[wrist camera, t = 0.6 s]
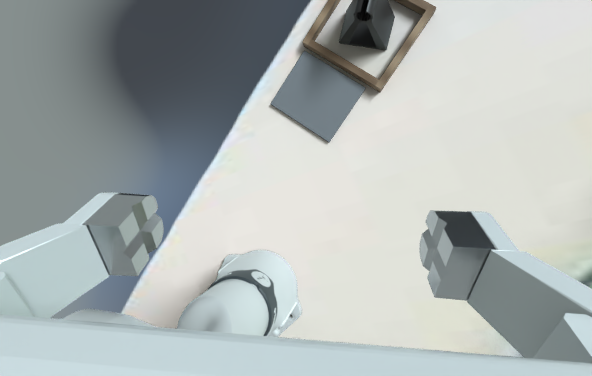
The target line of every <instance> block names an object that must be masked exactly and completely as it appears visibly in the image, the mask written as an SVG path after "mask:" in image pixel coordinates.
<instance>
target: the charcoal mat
mask: <svg viewBox="0 0 592 376" xmlns="http://www.w3.org/2000/svg"><path fill="white" fill-rule="evenodd" d="M364 90H365V87H364V86H362V85H360V84H359V83H357V82H355V81H354V80H352V79H350V78H349V77H347V76H346V75H344V74H342V73H341V72H339V71H337V70H336V69H334V68H332V67H331V66H329V65H327V64H326V63H324V62H322V61H321V60H319V59H317V58H316V57H314V56H313V55H311V54H309V53H308V52H306V51H304V52H303V53H302V55H301V57H300V58H299V60H298V61H297V63H296V64H295V66H294V68H293V69H292V71H291V72H290V74H289V76H288V77H287V79H286V80H285V82H284V83H283V85H282V87H281V88H280V90H279V91H278V93H277V94H276V96H275V98H274V99H273V101H272V102H271V105H273V106H274V107H276V108H277V109H279V110H281V111H282V112H284V113H285V114H287V115H288V116H290V117H291V118H293V119H294V120H296V121H297V122H299V123H300V124H302V125H303V126H305V127H306V128H308V129H310V130H311V131H313V132H314V133H316V134H317V135H319V136H320V137H322V138H323V139H325V140H326V141H328V142H330V141H331V139H332V138H333V136H334V135H335V133H336V132H337V130H338V129H339V127H340V126H341V124H342V123H343V121H344V120H345V118H346V117H347V115H348V114H349V112H350V111H351V109H352V108H353V106H354V105H355V103H356V102H357V101H358V99H359V98H360V96H361V95H362V93H363V92H364Z"/></svg>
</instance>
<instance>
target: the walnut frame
mask: <svg viewBox="0 0 592 376" xmlns="http://www.w3.org/2000/svg"><path fill="white" fill-rule="evenodd" d="M394 1H396V2H398V3H400V4H402V5H404V6H406V7H407V8H409V9H411V10H413V11H415V12H417V13H418V14H420V15H422V17H421V19H420V20H419V22H418V23H417V25H416V26H415V28H414V29H413V31H412V32H411V34H410V35H409V37H408V38H407V39H406V41H405V42H404V44H403V45H402V47H401V48H400V50H399V51H398V53H397V54H396V56H395V57H394V59H393V60H392V62H391V63H390V65H389V66H388V68H387V69H386V71H385V72H384V74H383V75H382V76H381V78H380V79H377V78H375V77H374V76H372V75H370V74H369V73H367V72H365V71H364V70H362V69H360V68H358V67H357V66H355V65H353V64H352V63H350V62H348V61H347V60H345V59H343V58H342V57H340V56H338V55H337V54H335V53H333V52H332V51H330V50H328V49H327V48H325V47H323V46H322V45H320V44H318V43H317V42H315V40H316V38H317V36H318V35H319V33H320V32H321V30H322V29H323V27H324V25H325V24H326V22H327V21H328V19H329V18H330V16H331V14H332V13H333V11H334V10H335V8H336V7H337V5H338V3H339V2H340V0H328V2H327V3H326V5H325V7H324V8H323V10H322V11H321V13H320V15H319V16H318V18H317V19H316V21H315V22H314V24H313V26H312V27H311V29H310V30H309V32H308V34H307V35H306V37H305V38H304V40H303V45H304V47H306V48H308V49H309V50H311V51H313V52H314V53H316V54H317V55H319V56H321V57H322V58H324V59H326V60H327V61H329V62H331V63H332V64H334V65H336V66H337V67H339V68H341V69H342V70H344V71H346V72H347V73H349V74H351V75H352V76H354V77H356V78H357V79H359V80H361V81H362V82H364V83H366V84H367V85H369V86H370V87H372V88H374V89H375V90H377V91H379V92H381V91H382V89H383V88H384V86H385V85H386V83H387V82H388V80H389V79H390V77H391V76H392V74H393V73H394V71H395V70H396V68H397V67H398V66H399V64H400V63H401V61H402V60H403V58H404V57H405V55H406V54H407V52H408V51H409V49H410V48H411V46H412V45H413V43H414V42H415V40H416V39H417V38H418V36H419V35H420V33H421V32H422V30H423V29H424V27H425V26H426V24H427V23H428V21H429V20H430V18H431V17H432V15H433V14H434V12H435V10H436V7H435V6H433V5H431V4H429V3H428V2H426V1H424V0H394Z"/></svg>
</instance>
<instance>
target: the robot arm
mask: <svg viewBox="0 0 592 376" xmlns="http://www.w3.org/2000/svg"><path fill="white" fill-rule="evenodd" d="M157 208H158V206H157V202H156V200H155V198H154V197H153V196H151V195H140V194H127V193H111V192H103V193H99V194H98V195H96V196H95V197H94V198H93V199H92V200H90V201H89V202H88V203H87V204H86V205H84V206H83V207H82V208H81V209H80V210H79V211H77V212H76V213H75V214H74V215H73V216H71V217H70V218H69V219H68V220H67V221H66V222H64V223H63V224H56V225H53V226H50V227H48V228H46V229H43V230H40V231H37V232H35V233H32V234H30V235H27V236H25V237H22V238H20V239H17V240H15V241H12V242H10V243H7V244H5V245H2V246H0V376H592V289H591V288H589V287H587V286H586V285H584V284H582V283H580V282H579V281H577V280H575V279H573V278H571V277H570V276H568V275H566V274H564V273H563V272H561V271H559V270H557V269H556V268H554V267H552V266H550V265H548V264H547V263H545V262H543V261H541V260H540V259H538V258H536V257H534V256H533V255H531V254H529V253H527V252H522V251H519V250H518V249H517V247H516V246H515V245H514V243H513V242H512V241H511V240H510V238H509V237H508V236H507V234H506V233H505V232H504V231H503V229H502V228H501V227H500V225H499V224H498V223H497V221H496V220H495V219H494V218H493V216H492V215H491V214H490V213H488V212H472V211H467V212H460V211H434V210H430V212H429V214H428V215H427V219H426V224H427V226H428V230H426V231H425V232H424V233H423V234H422V236H421V240H420V258H421V261H422V264H423V266H424V267H425V268H426V269H427V270H429V275H428V281H429V284H430V286H431V289H432V292H433V294H434V297H436V298H446V299H456V300H467V302H468V303H469V304H470V305H471V306H472V307H473V308H474V309H475V310H476V311H477V312H478V313H479V314H480V315H481V316H482V317H483V318H484V319H485V320H486V321H487V322H488V323H489V324H490V325H491V326H492V327H493V328H494V329H495V330H496V331H497V332H498V333H500V334H501V335H502V336H503V337H504V338H505V339H506V340H507V341H508V342H509V343H510V344H511V345H512V346H513V347H514V348H515V349H516V350H517V351H518V352H519V353H520V354H521V355H522V356H523V357H524V358H523V357H511V356H499V355H487V354H475V353H463V352H451V351H439V350H427V349H415V348H403V347H391V346H379V345H367V344H354V343H342V342H330V341H318V340H306V339H294V338H282V337H278V336H279V335H280V334H281V333H282V332H283V331H285V330H286V329H287V328H288V327H289V326H290V325H291V324H292V323H293V322H294V321H296V320H297V319H298V318H299V317H300V315H301V314H302V309H301V305H300V303H299V300H298V295H297V291H298V287H297V280H296V276H295V273H294V271H293V269H292V268H291V266H290V265H289V263H288V262H287V261H286V260H285V259H284V258H282V257H281V256H279V255H278V254H276V253H274V252H271V251H267V250H255V251H251V252H248V253H246V254H242V255H238V254H231V255H228V256H227V257H226V258H225V259H224V262H223V264H222V267H221V269H220V270H219V271H218V276H217V279H216V281H215V282H214V283H213V284H212V285H211V286H210V287H209V288H208V290H207V291H206V292H204V293H203V294H201V295H200V296H198V297H197V298H196V299H194V300H193V301H191V302H190V303H189V304H188V306H187V307H186V308H185V310H184V311H183V313H182V315H181V317H180V319H179V322H178V326H177V329H173V328H161V327H156V326H154V325H151V324H149V323H147V322H145V321H142V320H140V319H138V318H135V317H133V316H130V315H125V314H120V313H115V312H109V311H102V310H95V309H83V310H80V311H77V312H74V313H72V314H70V315H68V316H66V317H64V318H62V319H52V318H50V317H51V316H53V315H54V314H56V313H57V312H59V311H60V310H62V309H63V308H64V307H66V306H67V305H69V304H70V303H72V302H73V301H75V300H76V299H77V298H79V297H80V296H82V295H83V294H84V293H86V292H87V291H89V290H90V289H92V288H93V287H95V286H96V285H98V284H99V283H100V282H102V281H103V280H105V279H106V278H108V277H109V275H122V276H138V275H139V274H140V272H141V271H142V269H143V268H144V266H145V265H146V263H147V262H148V260H149V256H148V253H150V252H152V251H153V250H155V249H157V247H158V246H159V244H160V243H161V240H162V236H163V223H162V219H161V218H160V217H159V216H158V215H157V214H156V213H155V212H156V210H157ZM290 314H292V315H293V317H290Z"/></svg>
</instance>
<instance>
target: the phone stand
mask: <svg viewBox="0 0 592 376" xmlns="http://www.w3.org/2000/svg"><path fill="white" fill-rule="evenodd" d="M394 18H395V16H394V14H393V12H392V9H391V7H390V5H389V2H388V0H353V1H352V3H351V4H350V6H349V7H348V9H347V11H346V15H345V19H344V23H343V27H342V32H341V36H340V40H339V43H341V44H348V45H355V46H363V47H368V48H375V49H381V50H387V46H388V42H389V38H390V34H391V30H392V26H393V22H394Z"/></svg>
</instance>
